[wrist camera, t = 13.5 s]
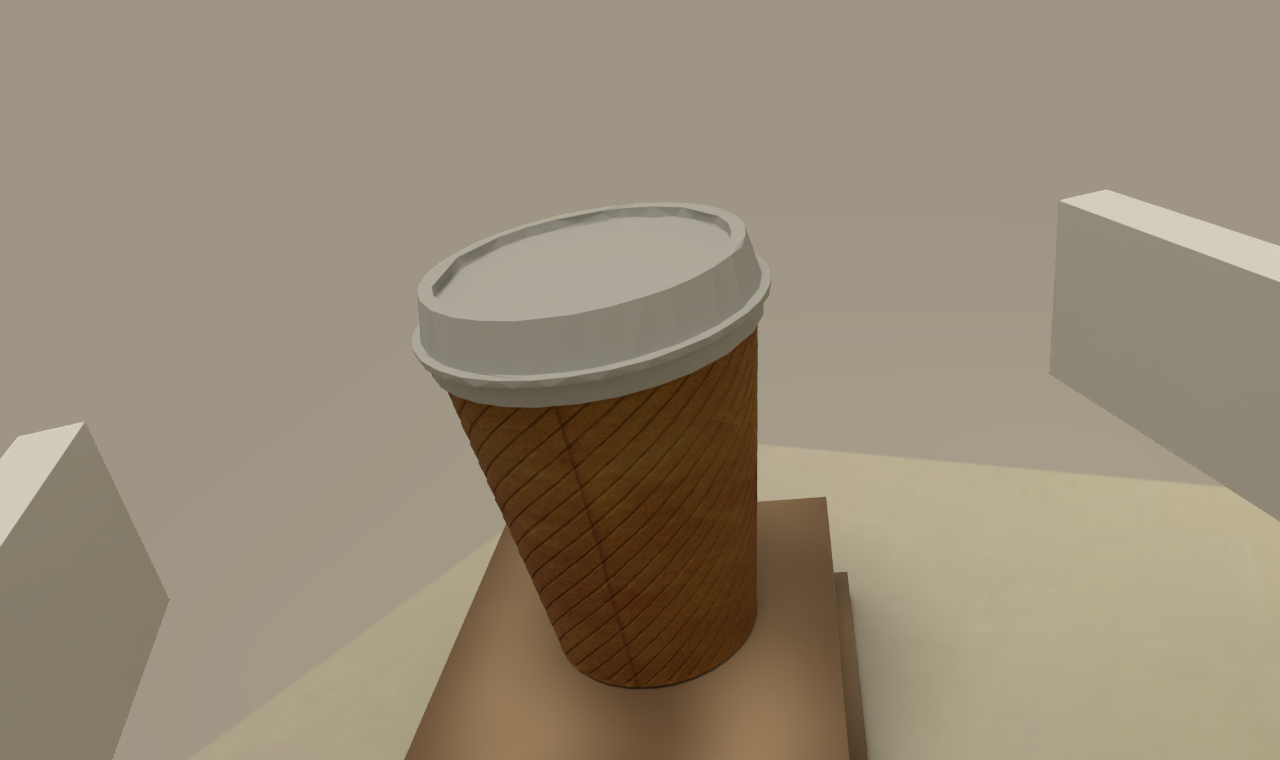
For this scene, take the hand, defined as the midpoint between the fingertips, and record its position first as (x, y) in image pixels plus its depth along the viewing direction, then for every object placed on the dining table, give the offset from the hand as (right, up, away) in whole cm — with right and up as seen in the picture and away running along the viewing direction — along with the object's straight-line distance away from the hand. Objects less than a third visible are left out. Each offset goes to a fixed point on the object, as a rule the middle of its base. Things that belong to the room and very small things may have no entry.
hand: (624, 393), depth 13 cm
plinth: (+1, -12, +19) cm, 22 cm away
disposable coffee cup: (+1, -7, +17) cm, 18 cm away
